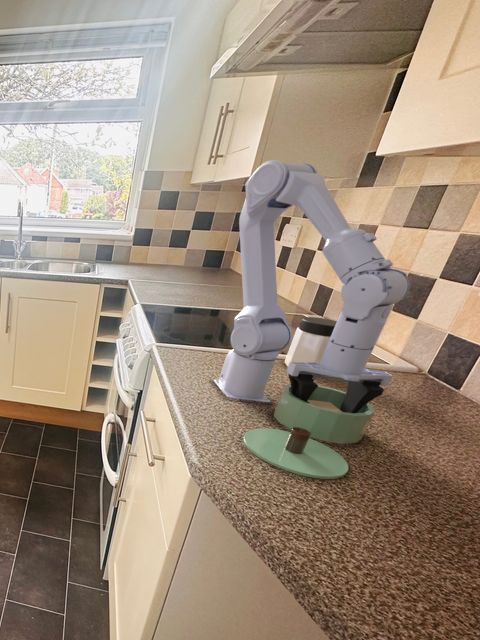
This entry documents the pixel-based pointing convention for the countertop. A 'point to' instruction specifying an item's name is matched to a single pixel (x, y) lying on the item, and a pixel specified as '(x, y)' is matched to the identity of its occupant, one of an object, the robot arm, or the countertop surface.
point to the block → (324, 405)
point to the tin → (323, 416)
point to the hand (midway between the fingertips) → (318, 415)
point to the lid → (295, 452)
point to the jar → (310, 340)
